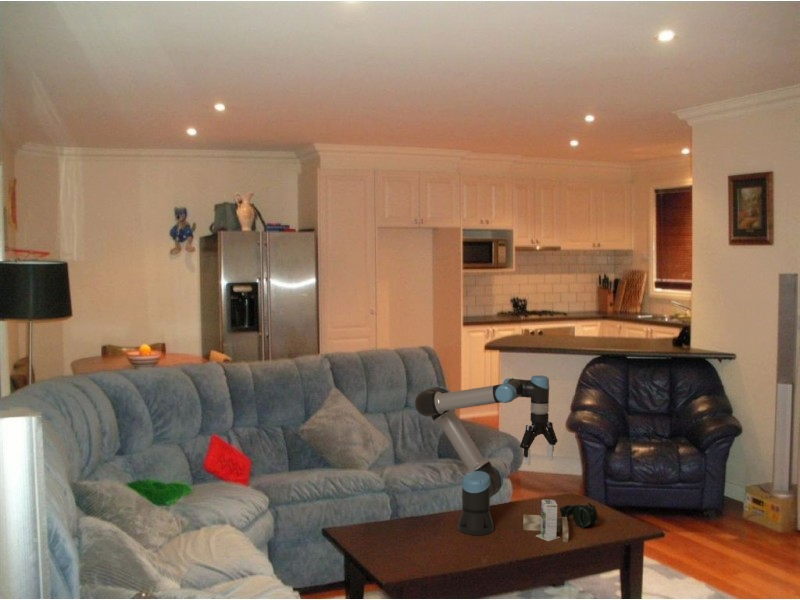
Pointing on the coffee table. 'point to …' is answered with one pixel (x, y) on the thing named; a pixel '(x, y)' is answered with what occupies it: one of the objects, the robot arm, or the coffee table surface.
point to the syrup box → (549, 518)
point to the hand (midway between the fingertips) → (538, 461)
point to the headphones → (580, 514)
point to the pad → (547, 538)
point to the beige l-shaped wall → (535, 524)
